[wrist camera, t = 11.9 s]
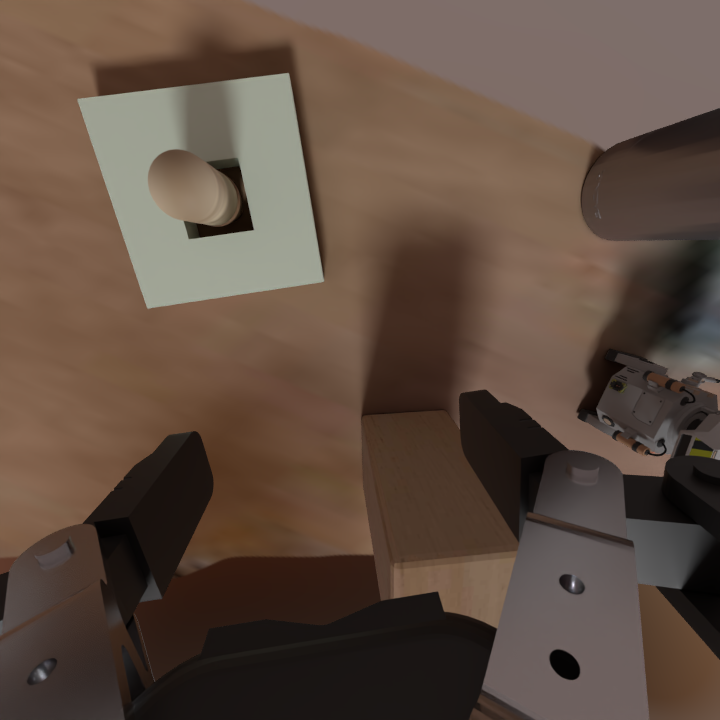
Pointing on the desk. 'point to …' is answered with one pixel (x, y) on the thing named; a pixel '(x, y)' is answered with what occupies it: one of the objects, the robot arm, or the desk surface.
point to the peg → (193, 189)
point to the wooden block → (433, 516)
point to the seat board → (220, 150)
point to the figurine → (657, 410)
